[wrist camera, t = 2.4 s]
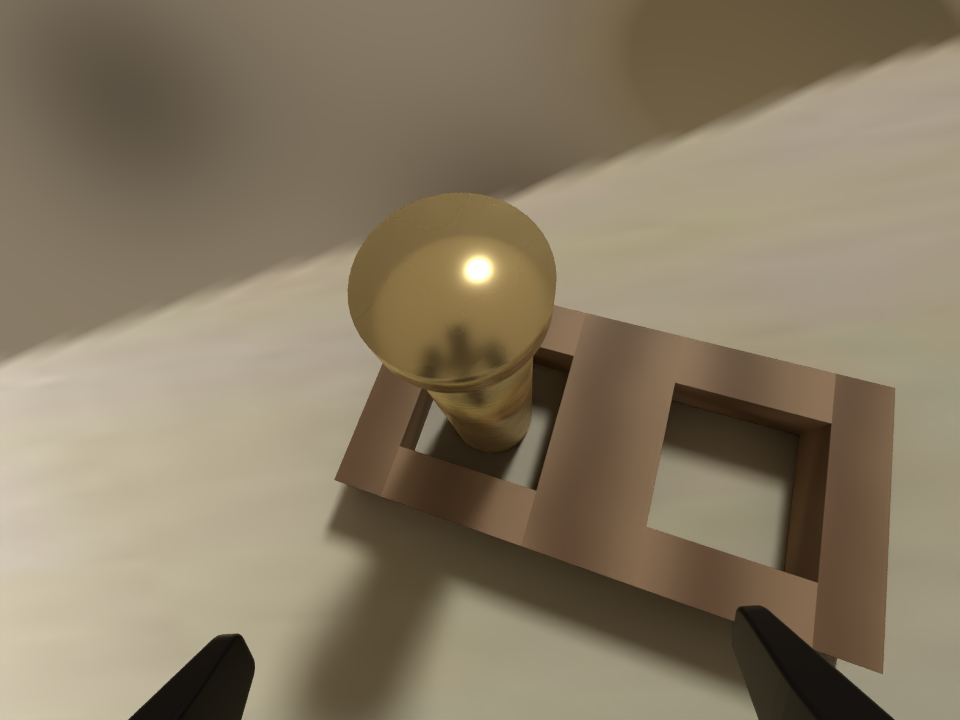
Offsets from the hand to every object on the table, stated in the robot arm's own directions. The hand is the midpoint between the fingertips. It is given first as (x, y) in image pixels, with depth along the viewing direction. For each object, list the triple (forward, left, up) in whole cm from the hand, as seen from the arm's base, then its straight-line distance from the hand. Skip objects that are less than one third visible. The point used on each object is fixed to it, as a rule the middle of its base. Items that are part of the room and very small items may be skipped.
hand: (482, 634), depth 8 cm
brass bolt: (+6, +5, -13) cm, 15 cm away
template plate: (+7, -1, -13) cm, 15 cm away
